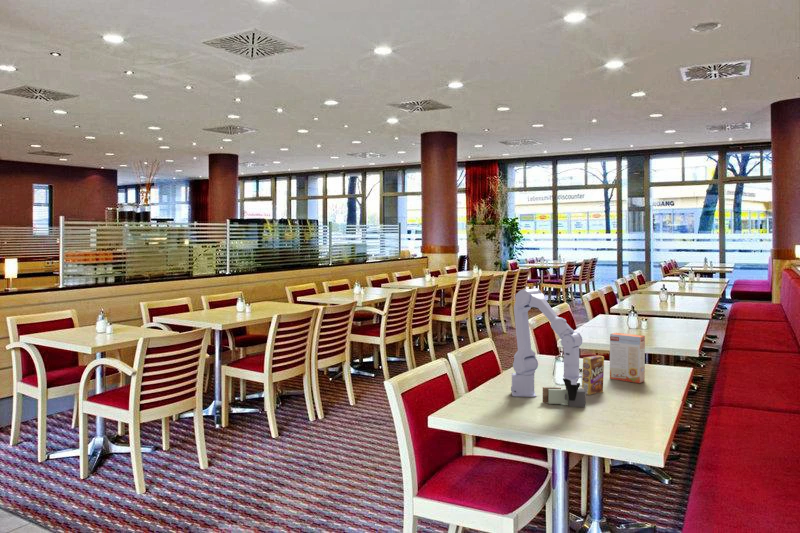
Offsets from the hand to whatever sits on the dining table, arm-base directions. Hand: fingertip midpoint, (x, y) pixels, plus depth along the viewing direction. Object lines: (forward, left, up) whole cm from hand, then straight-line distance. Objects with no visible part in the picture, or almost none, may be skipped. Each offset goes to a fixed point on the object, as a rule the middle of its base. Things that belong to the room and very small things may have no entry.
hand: (571, 398), depth 235 cm
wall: (-2, +3, -3) cm, 5 cm away
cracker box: (+31, +44, -3) cm, 54 cm away
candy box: (+12, +20, -3) cm, 23 cm away
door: (-5, +1, -3) cm, 5 cm away
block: (+2, 0, -3) cm, 3 cm away
